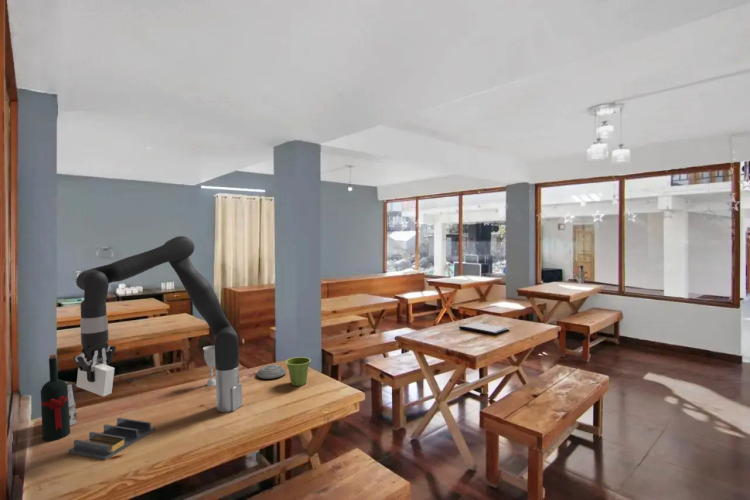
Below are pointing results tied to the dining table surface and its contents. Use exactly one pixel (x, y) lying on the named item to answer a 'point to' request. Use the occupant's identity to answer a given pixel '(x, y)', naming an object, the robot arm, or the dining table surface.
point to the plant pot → (298, 370)
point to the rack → (112, 439)
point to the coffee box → (71, 402)
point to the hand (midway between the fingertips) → (96, 379)
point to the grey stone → (271, 372)
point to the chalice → (210, 362)
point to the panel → (97, 380)
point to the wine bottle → (54, 405)
